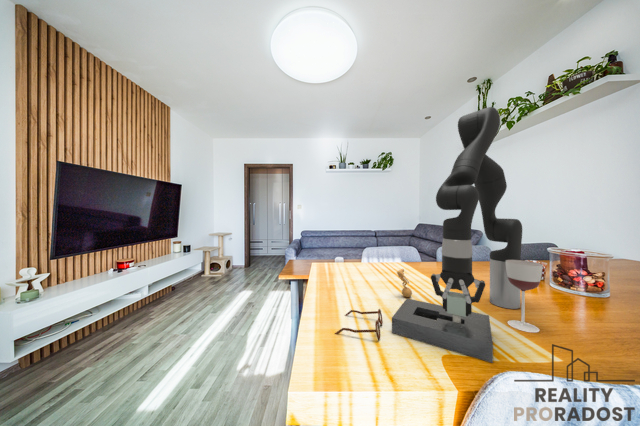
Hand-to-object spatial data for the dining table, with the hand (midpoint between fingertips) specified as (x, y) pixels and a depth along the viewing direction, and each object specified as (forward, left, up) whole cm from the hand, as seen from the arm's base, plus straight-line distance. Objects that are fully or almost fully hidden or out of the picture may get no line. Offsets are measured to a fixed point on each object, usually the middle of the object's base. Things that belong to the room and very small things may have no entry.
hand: (456, 312), depth 66 cm
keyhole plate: (0, -4, -7) cm, 8 cm away
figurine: (-22, -20, -7) cm, 31 cm away
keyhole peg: (0, 0, -6) cm, 6 cm away
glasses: (+11, -25, -8) cm, 29 cm away
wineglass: (-18, +17, -7) cm, 26 cm away
